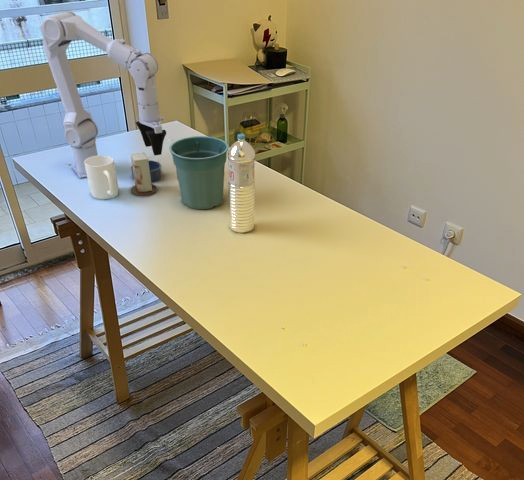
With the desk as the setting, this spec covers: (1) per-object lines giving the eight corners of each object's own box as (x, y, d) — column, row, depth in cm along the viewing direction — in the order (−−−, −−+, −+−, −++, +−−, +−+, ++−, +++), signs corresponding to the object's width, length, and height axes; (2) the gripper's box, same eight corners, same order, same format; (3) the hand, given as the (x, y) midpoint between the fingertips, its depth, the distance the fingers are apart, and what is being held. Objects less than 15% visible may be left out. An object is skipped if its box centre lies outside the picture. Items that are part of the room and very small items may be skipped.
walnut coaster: (127, 188, 165) (126, 186, 165) (152, 183, 168) (151, 181, 168) (135, 198, 160) (135, 196, 160) (161, 193, 163) (160, 191, 163)
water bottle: (251, 234, 145) (251, 140, 128) (226, 232, 145) (224, 138, 129) (256, 223, 150) (257, 131, 133) (232, 220, 151) (230, 129, 134)
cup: (113, 185, 167) (107, 153, 160) (128, 200, 159) (123, 167, 152) (87, 191, 163) (80, 158, 156) (101, 207, 156) (94, 173, 149)
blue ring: (129, 174, 174) (127, 163, 171) (156, 168, 177) (155, 158, 175) (138, 184, 168) (136, 173, 165) (166, 179, 171) (165, 168, 169)
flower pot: (204, 219, 151) (201, 162, 140) (162, 202, 158) (156, 147, 148) (241, 199, 161) (240, 145, 150) (200, 184, 168) (197, 132, 158)
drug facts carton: (134, 186, 165) (130, 153, 159) (149, 184, 166) (144, 151, 160) (138, 193, 162) (133, 160, 155) (152, 191, 163) (148, 158, 156)
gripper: (170, 107, 150) (174, 156, 159) (152, 94, 159) (157, 140, 168) (146, 111, 147) (151, 160, 156) (129, 96, 157) (135, 143, 166)
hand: (153, 150), depth 162 cm, fingers open, 7 cm apart
